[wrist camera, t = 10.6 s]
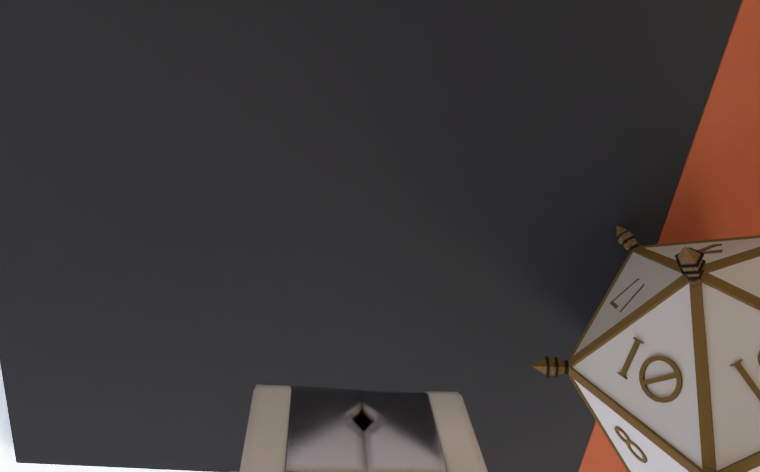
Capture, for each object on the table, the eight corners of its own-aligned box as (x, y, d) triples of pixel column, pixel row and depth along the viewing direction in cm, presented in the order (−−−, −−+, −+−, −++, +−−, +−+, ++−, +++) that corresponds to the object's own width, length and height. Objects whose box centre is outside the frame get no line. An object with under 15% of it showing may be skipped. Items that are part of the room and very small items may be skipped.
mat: (22, 454, 20) (15, 462, 20) (-91, -265, 12) (-104, -272, 12) (804, 491, 23) (811, 499, 23) (1113, -59, 15) (1133, -59, 15)
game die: (641, 273, 22) (841, 540, 17) (454, 330, 19) (631, 676, 14) (820, 92, 15) (1246, 452, 10) (570, 137, 12) (1004, 685, 7)
